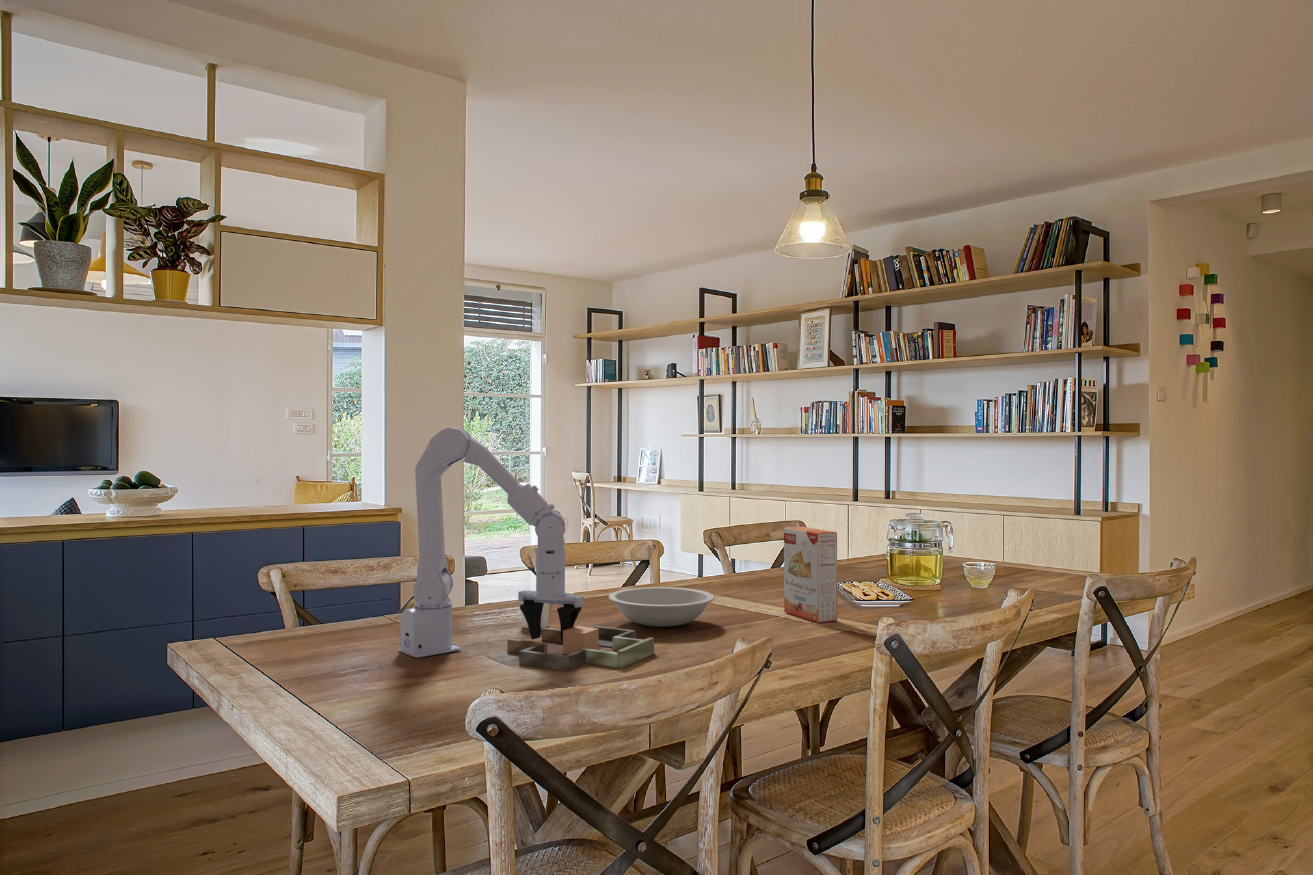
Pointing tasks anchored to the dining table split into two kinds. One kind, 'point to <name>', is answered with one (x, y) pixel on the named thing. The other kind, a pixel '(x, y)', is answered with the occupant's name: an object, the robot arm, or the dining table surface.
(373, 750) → the dining table surface
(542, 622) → the white cup
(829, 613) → the cracker box
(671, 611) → the soup bowl
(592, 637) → the block
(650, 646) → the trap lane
